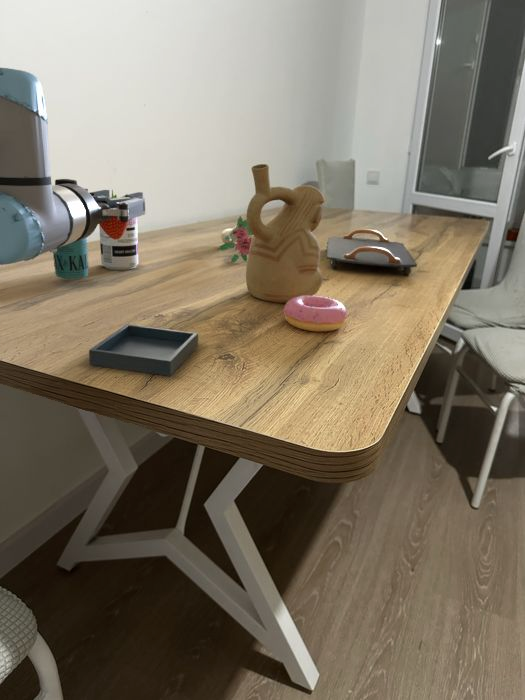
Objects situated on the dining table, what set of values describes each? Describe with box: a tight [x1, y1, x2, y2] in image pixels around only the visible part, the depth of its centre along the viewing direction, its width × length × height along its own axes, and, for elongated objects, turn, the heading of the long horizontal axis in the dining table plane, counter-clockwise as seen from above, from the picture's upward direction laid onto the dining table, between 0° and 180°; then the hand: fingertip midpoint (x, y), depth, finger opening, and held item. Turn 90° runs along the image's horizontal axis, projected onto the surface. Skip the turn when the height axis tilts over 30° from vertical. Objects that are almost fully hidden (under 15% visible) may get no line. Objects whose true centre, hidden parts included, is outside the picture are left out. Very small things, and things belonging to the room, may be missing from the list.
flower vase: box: [217, 215, 254, 264], centre depth 136 cm, size 12×12×35 cm
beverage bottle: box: [52, 178, 90, 280], centre depth 101 cm, size 6×7×20 cm
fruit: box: [98, 189, 129, 240], centre depth 85 cm, size 5×5×8 cm
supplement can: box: [98, 217, 139, 271], centre depth 117 cm, size 8×8×15 cm
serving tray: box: [325, 228, 418, 276], centre depth 144 cm, size 39×23×6 cm, turn 172°
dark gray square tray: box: [88, 323, 199, 377], centre depth 72 cm, size 11×11×2 cm
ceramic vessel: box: [245, 163, 326, 304], centre depth 101 cm, size 17×20×25 cm
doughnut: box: [283, 295, 348, 332], centre depth 88 cm, size 11×11×4 cm
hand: (124, 199), depth 89 cm, fingers closed on fruit, 5 cm apart
